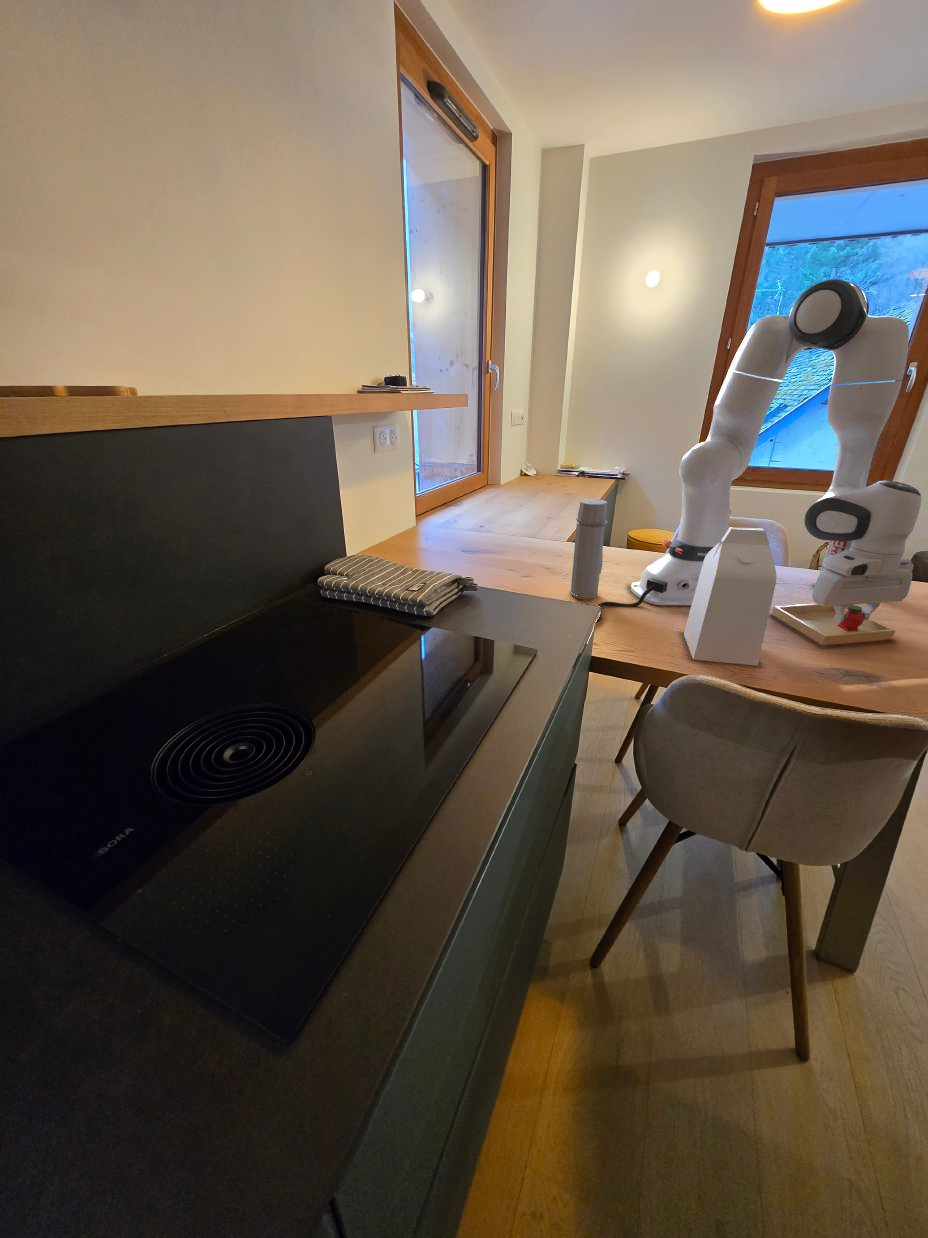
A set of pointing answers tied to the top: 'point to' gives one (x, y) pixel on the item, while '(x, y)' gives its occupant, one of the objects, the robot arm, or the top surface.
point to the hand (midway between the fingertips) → (850, 620)
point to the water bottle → (588, 548)
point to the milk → (732, 599)
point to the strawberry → (852, 618)
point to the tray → (829, 625)
